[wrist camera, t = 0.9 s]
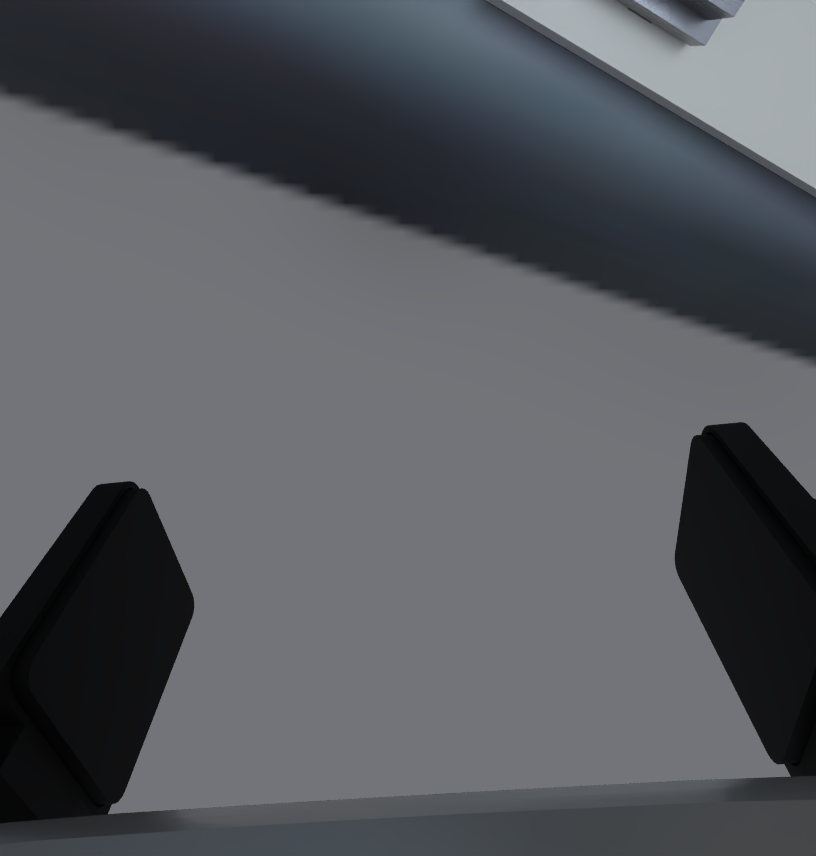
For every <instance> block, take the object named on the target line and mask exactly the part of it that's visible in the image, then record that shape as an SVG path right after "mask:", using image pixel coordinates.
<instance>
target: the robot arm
mask: <svg viewBox="0 0 816 856" xmlns="http://www.w3.org/2000/svg"><path fill="white" fill-rule="evenodd" d="M675 565H676V570H677V573H678V576H679V578H680V580H681V582H682V584H683V586H684V588H685V590H686V592H687V594H688V596H689V598H690V600H691V602H692V604H693V606H694V608H695V610H696V612H697V614H698V616H699V618H700V620H701V622H702V624H703V626H704V628H705V630H706V632H707V634H708V636H709V638H710V640H711V642H712V644H713V646H714V648H715V650H716V652H717V654H718V656H719V658H720V660H721V661H722V664H723V666H724V668H725V670H726V672H727V674H728V676H729V678H730V680H731V682H732V683H733V686H734V688H735V690H736V692H737V693H738V696H739V697H740V699H741V702H742V704H743V705H744V707H745V709H746V712H747V714H748V715H749V718H750V719H751V721H752V723H753V725H754V727H755V729H756V731H757V733H758V735H759V737H760V739H761V741H762V743H763V745H764V747H765V749H766V751H767V753H768V755H769V756H770V758H771V759H772V760H773V762H775V763H776V764H785V766H786V768H787V770H788V772H789V774H790V776H791V777H770V778H745V779H714V780H687V781H668V782H649V783H630V784H613V785H612V784H611V785H593V786H573V787H554V788H538V789H537V788H535V789H518V790H498V791H481V792H466V793H465V792H463V793H447V794H429V795H411V796H394V797H377V798H361V799H343V800H326V801H310V802H294V803H276V804H260V805H244V806H229V807H213V808H198V809H183V810H166V811H151V812H135V813H120V814H108V812H109V810H110V807H111V805H112V804H115V803H117V802H118V801H119V800H120V799H121V797H122V796H123V794H124V792H125V789H126V787H127V784H128V782H129V779H130V777H131V774H132V771H133V769H134V766H135V763H136V761H137V758H138V756H139V753H140V750H141V748H142V746H143V743H144V740H145V738H146V735H147V732H148V730H149V727H150V725H151V722H152V720H153V717H154V714H155V712H156V709H157V707H158V704H159V701H160V699H161V696H162V693H163V691H164V689H165V686H166V683H167V681H168V678H169V675H170V673H171V670H172V668H173V665H174V663H175V660H176V658H177V655H178V652H179V650H180V647H181V644H182V642H183V639H184V637H185V634H186V631H187V629H188V626H189V624H190V621H191V619H192V616H193V612H194V598H193V595H192V592H191V590H190V587H189V585H188V583H187V580H186V578H185V576H184V573H183V571H182V569H181V567H180V564H179V562H178V560H177V557H176V555H175V553H174V550H173V548H172V546H171V543H170V541H169V539H168V536H167V534H166V532H165V529H164V527H163V525H162V522H161V520H160V518H159V516H158V513H157V511H156V509H155V506H154V504H153V502H152V499H151V497H150V495H149V494H148V491H146V490H145V489H142V488H141V489H139V487H138V486H137V485H136V484H135V483H134V482H130V481H129V482H118V483H108V484H100V485H97V486H96V487H95V488H94V489H93V490H92V491H91V493H90V494H89V496H88V497H87V498H86V500H85V501H84V502H83V504H82V505H81V506H80V508H79V509H78V511H77V512H76V513H75V515H74V516H73V518H72V519H71V520H70V522H69V523H68V524H67V526H66V527H65V529H64V530H63V531H62V533H61V534H60V536H59V537H58V538H57V540H56V541H55V543H54V544H53V546H52V547H51V548H50V549H49V551H48V552H47V554H46V555H45V556H44V558H43V559H42V560H41V562H40V563H39V565H38V566H37V567H36V569H35V570H34V572H33V573H32V574H31V576H30V577H29V578H28V580H27V581H26V583H25V584H24V585H23V587H22V588H21V590H20V591H19V592H18V594H17V595H16V597H15V598H14V599H13V601H12V602H11V603H10V605H9V606H8V608H7V609H6V610H5V612H4V613H3V614H2V616H1V617H0V856H816V499H813V498H812V497H811V496H810V494H809V493H808V492H807V491H806V490H805V489H804V488H803V486H802V485H801V484H800V483H799V482H798V481H797V480H796V479H795V477H794V476H793V475H792V474H791V473H790V472H789V471H788V470H787V468H786V467H785V466H784V465H783V464H782V463H781V462H780V461H779V459H778V458H777V457H776V456H775V455H774V454H773V453H772V452H771V451H770V449H769V448H768V447H767V446H766V445H765V444H764V442H763V441H762V440H761V439H760V438H759V437H758V436H757V435H756V433H755V432H754V431H753V430H752V429H751V428H750V427H749V426H748V425H747V424H746V423H742V422H739V423H729V424H719V425H708V426H706V427H705V428H704V429H703V431H702V435H696V436H694V437H693V439H692V442H691V447H690V454H689V460H688V467H687V474H686V481H685V488H684V495H683V502H682V509H681V516H680V523H679V530H678V536H677V544H676V550H675Z"/></svg>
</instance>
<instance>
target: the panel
mask: <svg viewBox="0 0 816 856" xmlns="http://www.w3.org/2000/svg"><path fill="white" fill-rule="evenodd" d="M486 1H487V2H489V3H491V4H492V5H494V6H496V7H497V8H499V9H501V10H502V11H504V12H506V13H507V14H509V15H511V16H512V17H514V18H516V19H517V20H519V21H521V22H522V23H524V24H526V25H528V26H529V27H531V28H533V29H534V30H536V31H538V32H539V33H541V34H543V35H544V36H546V37H548V38H549V39H551V40H553V41H554V42H556V43H558V44H559V45H561V46H563V47H564V48H566V49H568V50H569V51H571V52H573V53H574V54H576V55H578V56H579V57H581V58H583V59H584V60H586V61H588V62H590V63H591V64H593V65H595V66H596V67H598V68H600V69H601V70H603V71H605V72H606V73H608V74H610V75H611V76H613V77H615V78H616V79H618V80H620V81H621V82H623V83H625V84H626V85H628V86H630V87H631V88H633V89H635V90H636V91H638V92H640V93H641V94H643V95H645V96H646V97H648V98H650V99H652V100H653V101H655V102H657V103H658V104H660V105H662V106H663V107H665V108H667V109H668V110H670V111H672V112H673V113H675V114H677V115H678V116H680V117H682V118H683V119H685V120H687V121H688V122H690V123H692V124H693V125H695V126H697V127H698V128H700V129H702V130H703V131H705V132H707V133H708V134H710V135H712V136H714V137H715V138H717V139H719V140H720V141H722V142H724V143H725V144H727V145H729V146H730V147H732V148H734V149H735V150H737V151H739V152H740V153H742V154H744V155H745V156H747V157H749V158H750V159H752V160H754V161H755V162H757V163H759V164H760V165H762V166H764V167H765V168H767V169H769V170H770V171H772V172H774V173H776V174H777V175H779V176H781V177H782V178H784V179H786V180H787V181H789V182H791V183H792V184H794V185H796V186H797V187H799V188H801V189H802V190H804V191H806V192H807V193H809V194H811V195H812V196H814V197H816V0H745V1H744V2H743V4H742V6H741V7H740V9H739V10H738V12H737V14H736V15H735V17H732V18H724V19H722V20H721V21H720V23H719V24H718V26H717V28H716V29H715V31H714V33H713V34H712V36H711V37H710V39H709V41H708V42H707V44H706V46H689V45H687V44H686V43H684V42H683V41H681V40H679V39H678V38H676V37H675V36H673V35H672V34H670V33H668V32H667V31H665V30H664V29H662V28H660V27H659V26H657V25H656V24H654V23H653V22H651V21H649V20H648V19H646V18H645V17H643V16H641V15H640V14H638V13H637V12H635V11H634V10H632V9H630V8H629V7H627V6H626V5H624V4H622V3H621V2H619V1H618V0H486Z"/></svg>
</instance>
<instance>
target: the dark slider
mask: <svg viewBox="0 0 816 856" xmlns="http://www.w3.org/2000/svg"><path fill="white" fill-rule="evenodd" d="M618 1H619V2H621V3H622V4H624V5H626V6H627V7H629V8H630V9H632V10H634V11H635V12H637V13H638V14H640V15H641V16H643V17H645V18H646V19H648V20H649V21H651V22H653V23H654V24H656V25H657V26H659V27H660V28H662V29H664V30H665V31H667V32H668V33H670V34H672V35H673V36H675V37H676V38H678V39H679V40H681V41H683V42H684V43H686V44H687V45H689V46H706V44H707V42H708V41H709V39H710V37H711V36H712V34H713V33H714V31H715V29H716V28H717V26H718V24H719V23H720V21H721V20H722V19H724V18H732V17H735V15H736V14H737V12H738V10H739V9H740V7H741V6H742V4H743V2H744V1H745V0H618Z"/></svg>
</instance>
